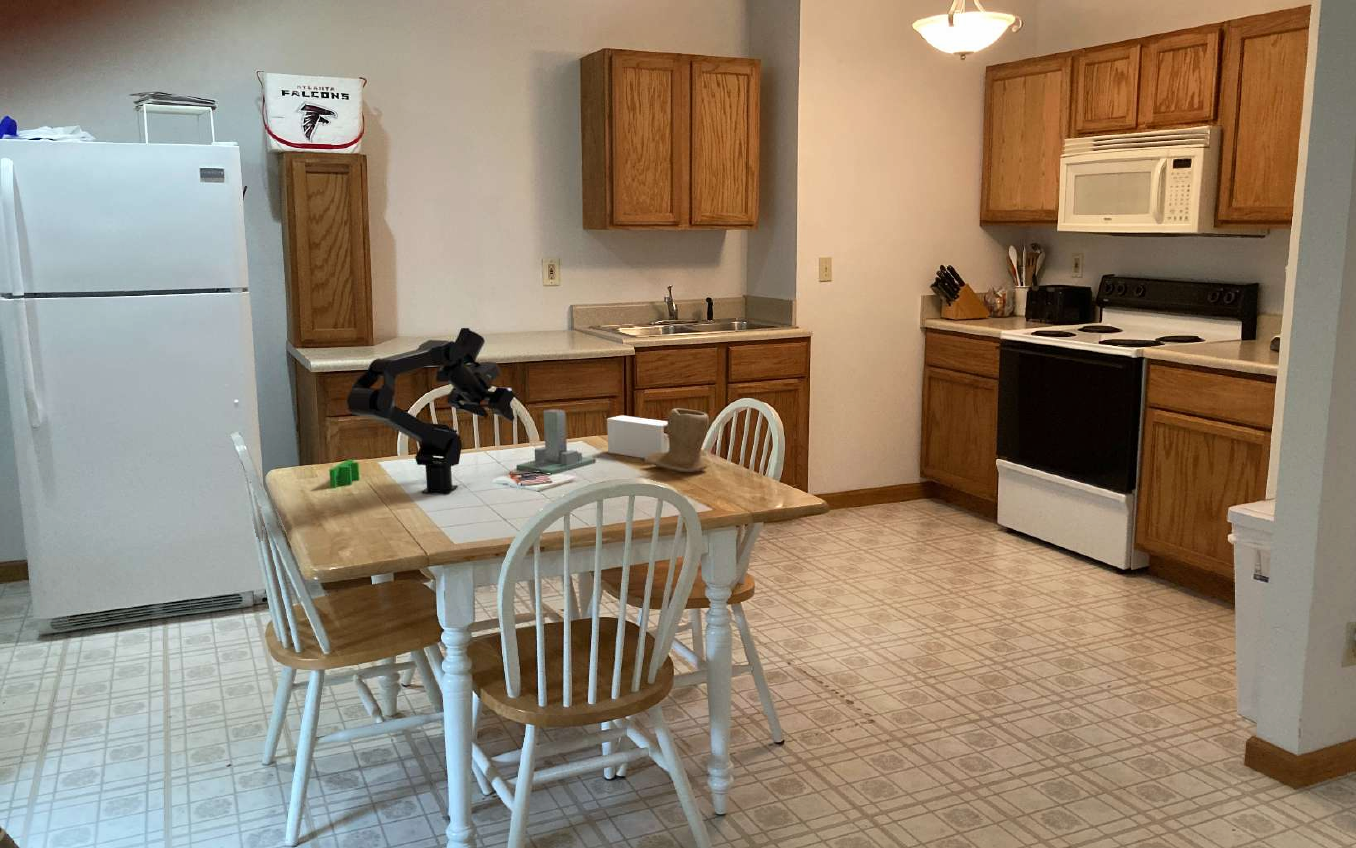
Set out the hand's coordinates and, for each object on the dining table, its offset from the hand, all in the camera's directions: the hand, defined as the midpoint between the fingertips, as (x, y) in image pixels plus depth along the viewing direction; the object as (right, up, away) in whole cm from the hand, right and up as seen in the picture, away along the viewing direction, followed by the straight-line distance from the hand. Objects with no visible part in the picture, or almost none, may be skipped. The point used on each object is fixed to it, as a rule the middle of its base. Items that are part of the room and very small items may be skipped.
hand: (500, 418), depth 266 cm
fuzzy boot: (+44, -13, +2) cm, 46 cm away
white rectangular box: (+33, -10, +19) cm, 40 cm away
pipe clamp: (-36, -16, -4) cm, 39 cm away
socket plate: (+13, -12, +9) cm, 19 cm away
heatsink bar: (+13, -11, +8) cm, 19 cm away
